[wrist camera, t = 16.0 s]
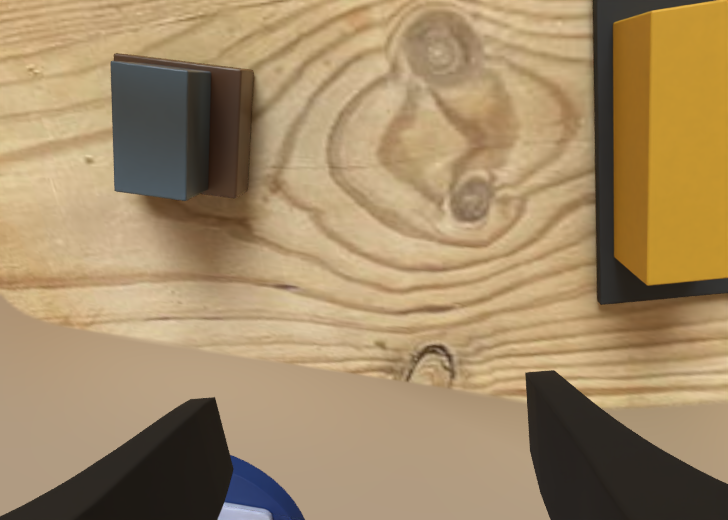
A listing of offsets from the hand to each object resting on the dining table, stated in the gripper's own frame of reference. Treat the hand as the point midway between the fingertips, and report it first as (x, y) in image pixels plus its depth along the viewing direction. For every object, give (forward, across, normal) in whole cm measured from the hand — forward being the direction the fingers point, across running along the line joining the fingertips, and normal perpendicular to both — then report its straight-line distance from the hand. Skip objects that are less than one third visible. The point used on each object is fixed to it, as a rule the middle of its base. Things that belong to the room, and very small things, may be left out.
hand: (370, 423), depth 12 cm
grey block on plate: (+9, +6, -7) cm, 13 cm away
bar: (+9, -10, -4) cm, 14 cm away
